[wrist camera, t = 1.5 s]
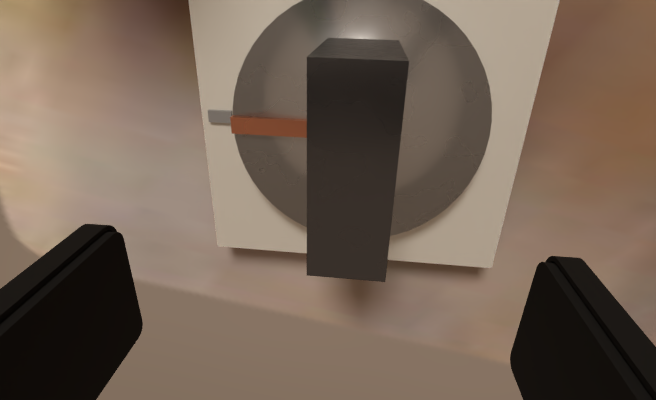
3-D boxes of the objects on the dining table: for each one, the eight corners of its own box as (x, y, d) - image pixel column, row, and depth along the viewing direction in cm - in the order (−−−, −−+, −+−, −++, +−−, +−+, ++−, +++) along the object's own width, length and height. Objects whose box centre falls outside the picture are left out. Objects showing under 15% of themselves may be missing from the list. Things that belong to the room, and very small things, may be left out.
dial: (513, -11, 17) (594, -14, 10) (462, 237, 22) (496, 332, 16) (228, -18, 18) (149, -24, 11) (247, 221, 23) (199, 304, 17)
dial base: (556, -61, 18) (578, -68, 16) (483, 248, 25) (492, 270, 23) (198, -67, 19) (177, -74, 17) (228, 229, 26) (216, 248, 24)
